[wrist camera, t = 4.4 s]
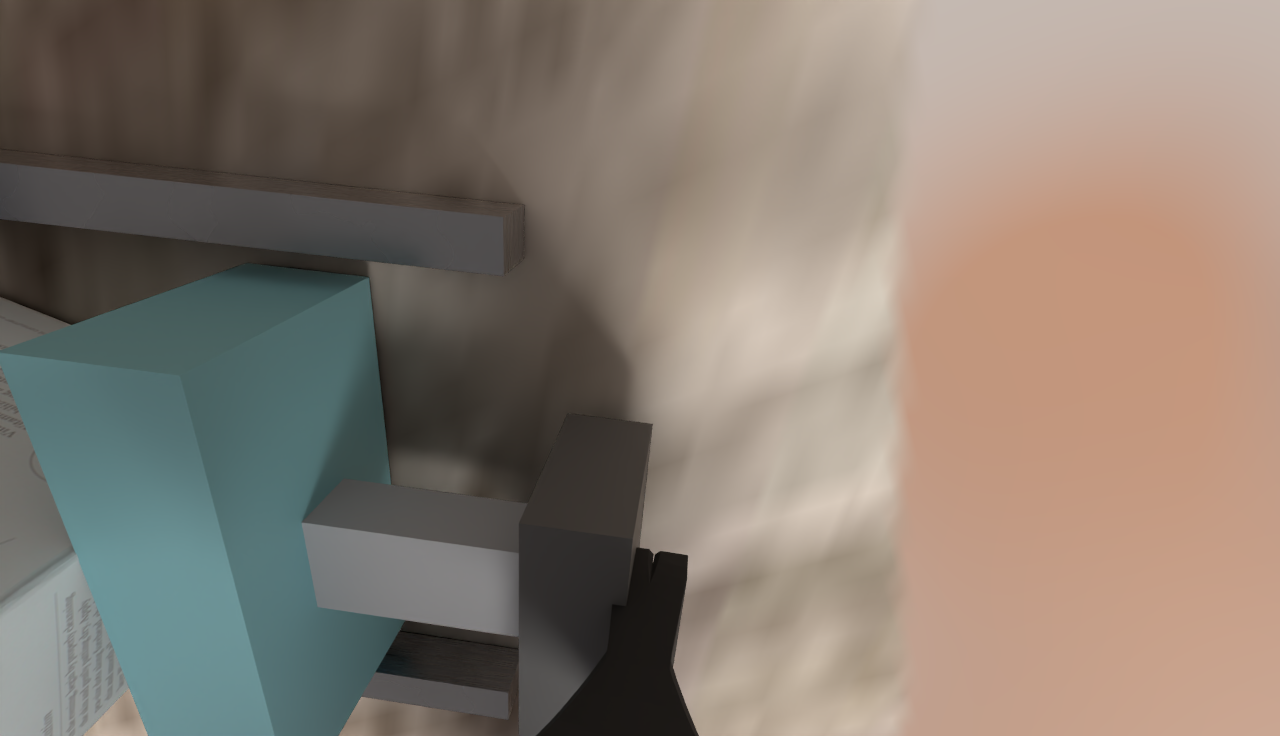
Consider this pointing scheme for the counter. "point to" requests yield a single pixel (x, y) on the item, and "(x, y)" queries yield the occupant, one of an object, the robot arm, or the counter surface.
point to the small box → (43, 586)
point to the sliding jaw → (301, 510)
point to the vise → (309, 226)
